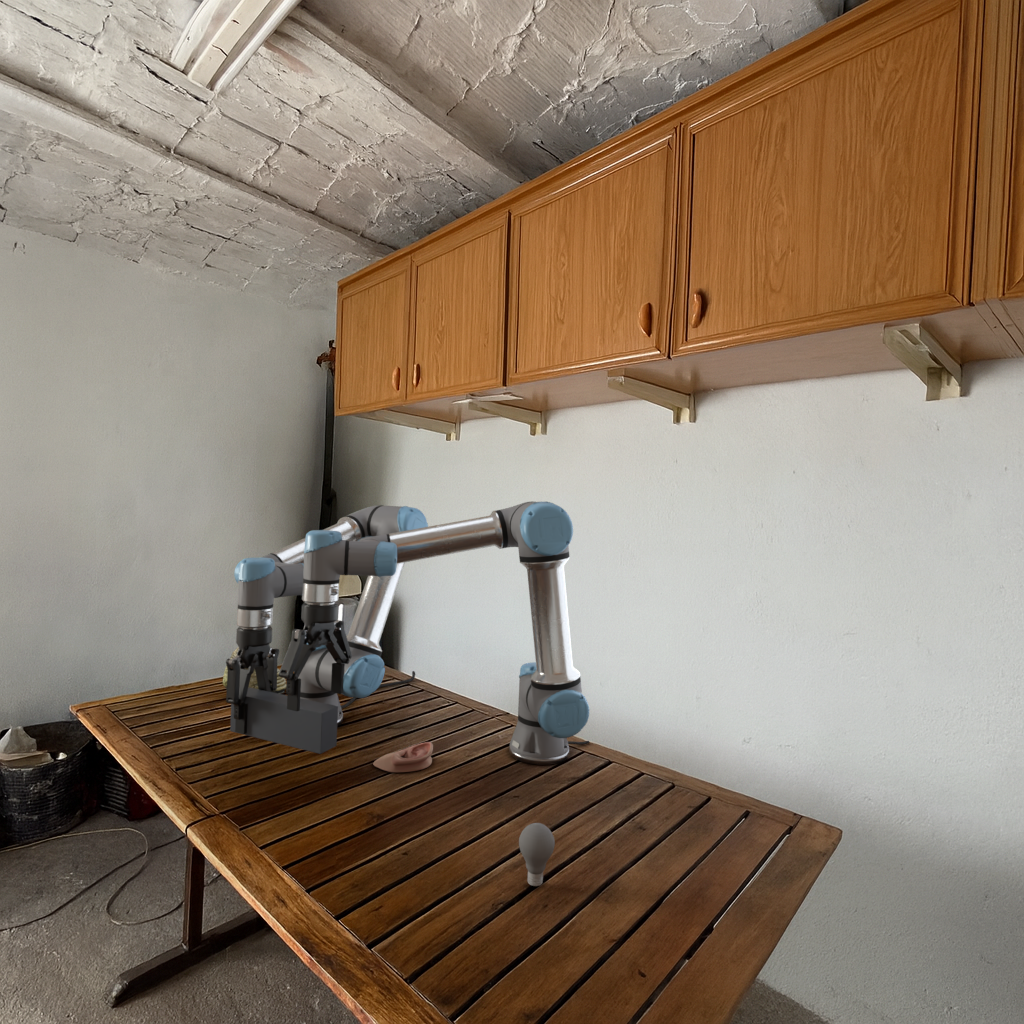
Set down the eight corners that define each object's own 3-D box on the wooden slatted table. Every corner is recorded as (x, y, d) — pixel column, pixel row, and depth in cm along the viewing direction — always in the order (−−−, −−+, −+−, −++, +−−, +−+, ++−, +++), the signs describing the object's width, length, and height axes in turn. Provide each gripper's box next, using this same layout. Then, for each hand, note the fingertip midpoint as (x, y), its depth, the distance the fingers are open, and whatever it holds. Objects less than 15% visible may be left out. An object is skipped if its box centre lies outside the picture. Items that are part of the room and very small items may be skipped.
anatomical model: (368, 752, 148) (387, 734, 159) (367, 769, 148) (386, 750, 159) (422, 759, 145) (438, 741, 156) (421, 776, 145) (437, 757, 156)
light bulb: (515, 873, 109) (518, 816, 109) (550, 873, 109) (552, 816, 109) (518, 895, 103) (521, 834, 103) (555, 895, 104) (558, 834, 103)
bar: (230, 731, 143) (231, 693, 143) (248, 724, 147) (249, 687, 147) (320, 754, 132) (322, 713, 132) (336, 745, 137) (338, 706, 137)
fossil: (218, 695, 195) (220, 647, 195) (278, 685, 208) (279, 640, 207) (228, 703, 189) (230, 653, 188) (289, 692, 201) (290, 645, 201)
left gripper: (234, 635, 133) (230, 745, 134) (296, 621, 150) (292, 719, 150) (209, 631, 136) (205, 738, 137) (272, 618, 153) (268, 713, 153)
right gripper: (292, 612, 123) (287, 721, 123) (370, 597, 146) (365, 689, 146) (262, 608, 126) (258, 714, 126) (343, 593, 149) (339, 683, 149)
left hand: (251, 728), depth 144 cm, fingers closed on bar, 5 cm apart
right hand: (315, 701), depth 136 cm, fingers open, 13 cm apart
